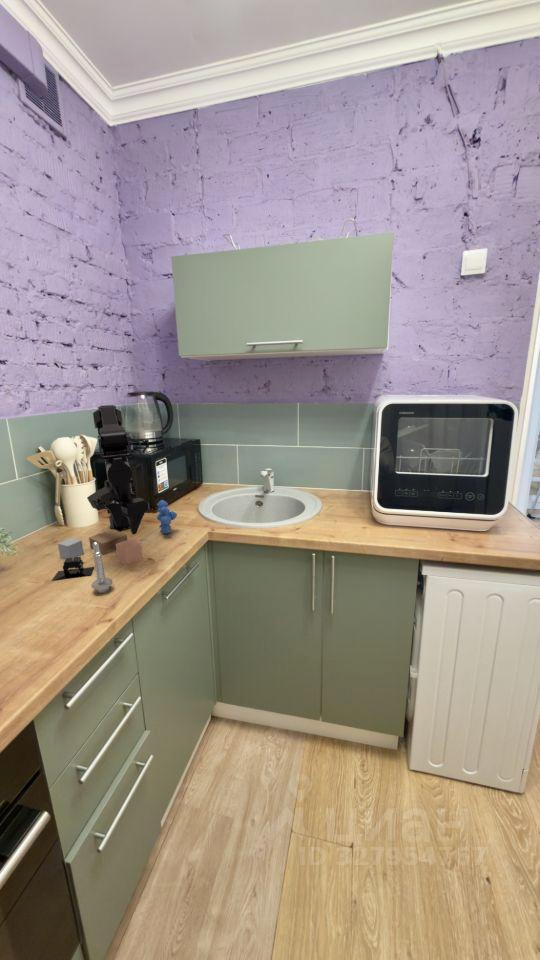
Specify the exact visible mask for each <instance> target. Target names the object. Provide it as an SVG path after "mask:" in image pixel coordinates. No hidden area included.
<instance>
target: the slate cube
mask: <svg viewBox="0 0 540 960" xmlns="http://www.w3.org/2000/svg"><path fill="white" fill-rule="evenodd" d="M57 548H58V552H59V557H60V558H61V559H65V560H66V558H73V559H74V558H75V557H81V556H83V555H84V547H83V541H82V540H81V539H77V538H73V537H70V538H68V539H66V540H63V541H62V542H58V543H57ZM73 559H72V560H73Z"/></svg>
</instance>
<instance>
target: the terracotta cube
mask: <svg viewBox="0 0 540 960" xmlns="http://www.w3.org/2000/svg"><path fill="white" fill-rule="evenodd" d="M142 549H143V548H142V543H141V542H140V541H138V540H136V539H134V538H129V539H127V540H126V541H123V542H120V543H117V544H116V555H117V560H118V561H119V562H121V563H122V564H124V565H125V566H128V565H130V564H133V563H135V562H138V561H141V560H143V559H144V558H143V550H142Z"/></svg>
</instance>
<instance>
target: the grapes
mask: <svg viewBox="0 0 540 960" xmlns="http://www.w3.org/2000/svg"><path fill="white" fill-rule="evenodd" d="M168 505H169V503H168V502H167V501H166V500H163V499H161V500H159V501H158V503H157V505H156V506H157V507H158V508H157V510H156V511H157V512H158V515H157V516H156V519H157V520H158V521H159V522H160V525H159V528H160V532H161V533H162V534H164V535H167V534H169V532H171V528H172V526H171V525H170V524H171V523H172V521H174V520H175V519H176V518H177V517H178V514H177V513H176V512H175V511H173V510H170V508H168Z"/></svg>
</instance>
